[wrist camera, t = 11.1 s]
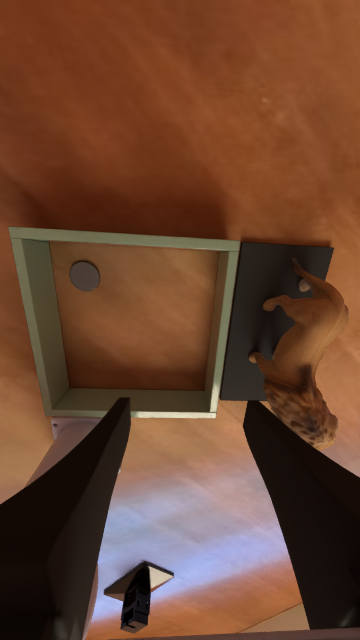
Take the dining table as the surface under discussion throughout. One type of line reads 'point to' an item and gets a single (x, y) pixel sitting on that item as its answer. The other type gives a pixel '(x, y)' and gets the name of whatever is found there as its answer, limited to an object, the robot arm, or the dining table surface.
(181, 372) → the dining table surface
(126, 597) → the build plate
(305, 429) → the lion figurine
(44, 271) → the green square tray
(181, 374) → the dining table surface
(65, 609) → the robot arm
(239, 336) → the mat
